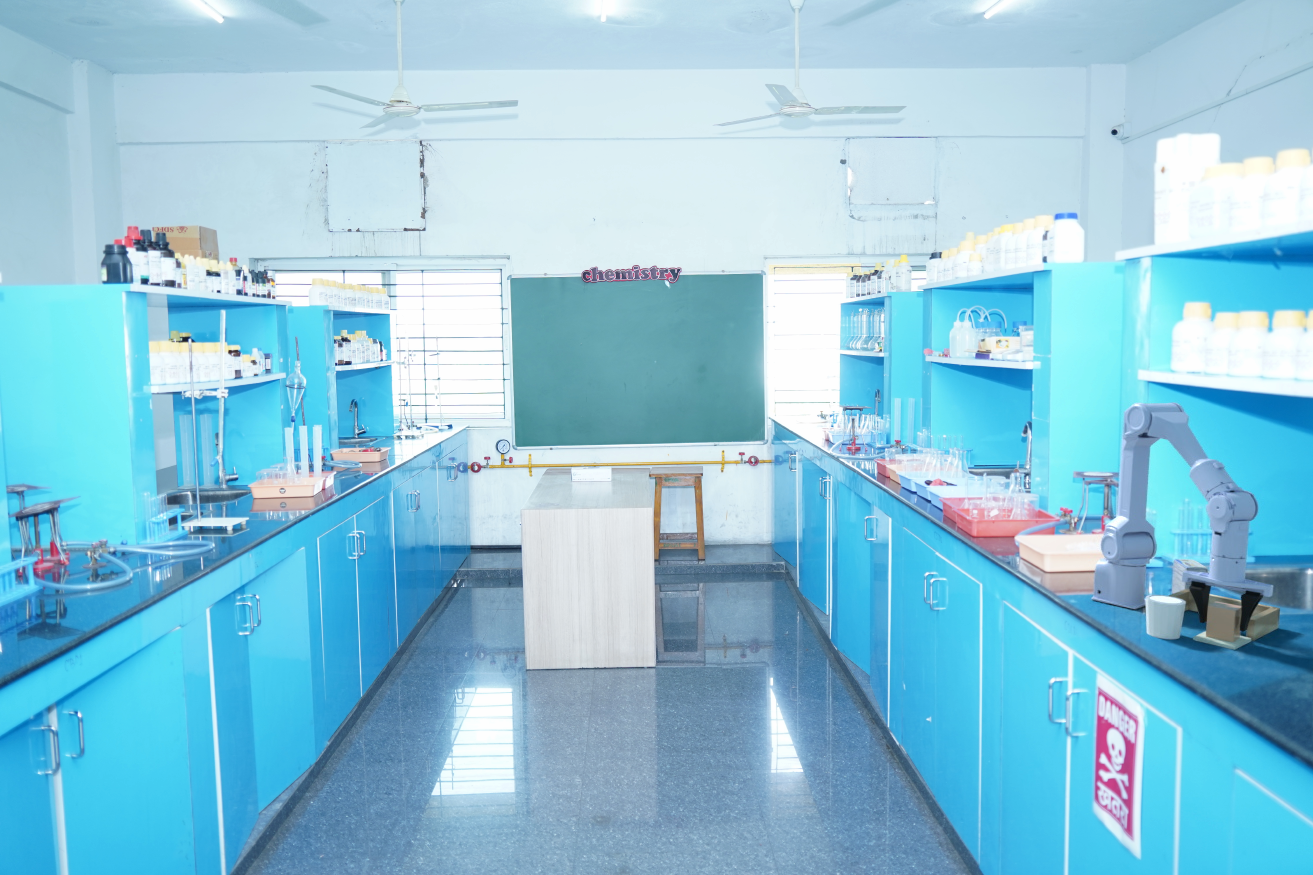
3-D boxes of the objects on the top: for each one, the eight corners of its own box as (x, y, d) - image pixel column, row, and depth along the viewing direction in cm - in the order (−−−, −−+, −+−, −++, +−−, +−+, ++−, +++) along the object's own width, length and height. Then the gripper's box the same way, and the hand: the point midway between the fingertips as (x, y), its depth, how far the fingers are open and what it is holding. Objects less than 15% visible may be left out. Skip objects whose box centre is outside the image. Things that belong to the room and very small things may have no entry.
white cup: (1191, 639, 173) (1194, 603, 172) (1156, 640, 172) (1159, 604, 172) (1169, 628, 180) (1171, 593, 179) (1135, 629, 179) (1137, 594, 178)
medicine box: (1206, 607, 194) (1209, 567, 193) (1183, 606, 195) (1186, 566, 194) (1192, 597, 202) (1195, 559, 201) (1170, 596, 203) (1173, 558, 202)
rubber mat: (1193, 639, 173) (1193, 636, 173) (1210, 631, 178) (1210, 628, 178) (1234, 649, 167) (1234, 646, 167) (1251, 641, 172) (1251, 637, 172)
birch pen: (1156, 618, 186) (1157, 599, 186) (1184, 607, 194) (1185, 588, 194) (1253, 640, 172) (1254, 620, 172) (1278, 627, 181) (1280, 608, 180)
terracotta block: (1205, 636, 173) (1207, 605, 172) (1213, 631, 176) (1215, 601, 175) (1232, 642, 170) (1235, 610, 169) (1240, 637, 173) (1242, 606, 172)
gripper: (1279, 558, 168) (1274, 630, 170) (1192, 545, 179) (1187, 613, 180) (1269, 564, 163) (1263, 638, 165) (1180, 551, 174) (1175, 620, 175)
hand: (1223, 625), depth 172 cm, fingers open, 6 cm apart
